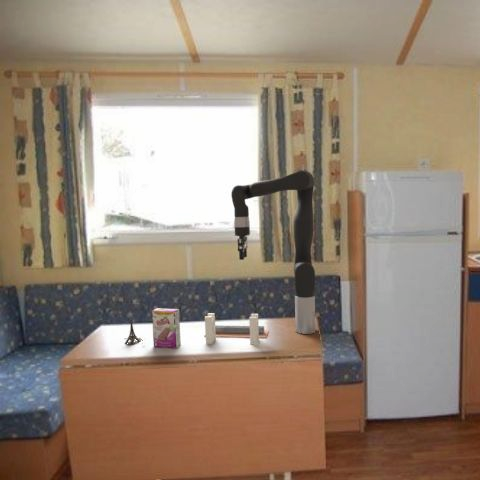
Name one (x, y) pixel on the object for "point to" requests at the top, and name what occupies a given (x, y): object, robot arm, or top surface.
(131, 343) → the eiffel tower figurine
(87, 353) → the top surface
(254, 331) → the stands
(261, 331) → the rail
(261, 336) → the mat
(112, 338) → the top surface
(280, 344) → the top surface
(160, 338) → the candy bar box
